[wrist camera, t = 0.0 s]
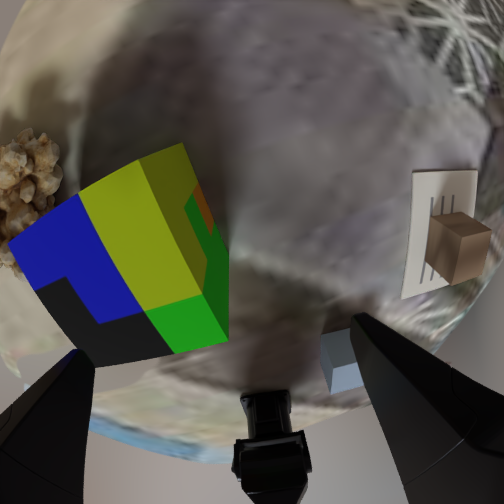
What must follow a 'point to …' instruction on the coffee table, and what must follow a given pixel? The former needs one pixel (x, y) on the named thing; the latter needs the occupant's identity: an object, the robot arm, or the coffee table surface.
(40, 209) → the mineral formation
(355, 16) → the coffee table surface
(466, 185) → the letter
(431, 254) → the walnut block
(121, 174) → the puzzle toy
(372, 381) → the robot arm
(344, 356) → the blue cube
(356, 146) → the coffee table surface
